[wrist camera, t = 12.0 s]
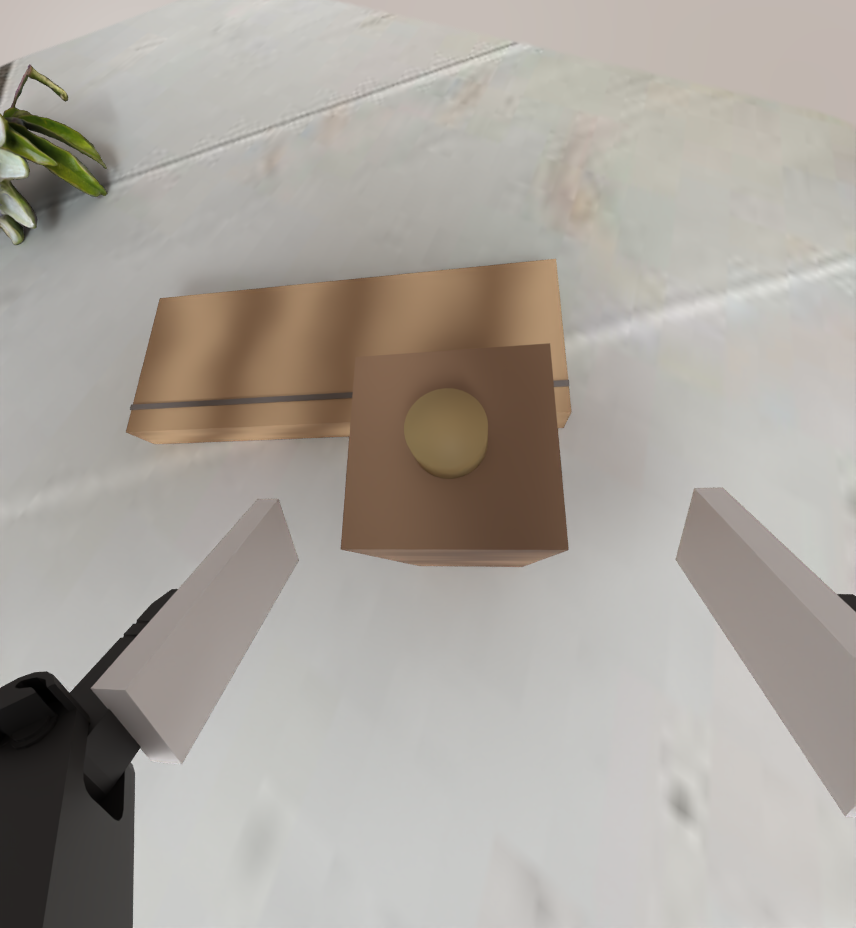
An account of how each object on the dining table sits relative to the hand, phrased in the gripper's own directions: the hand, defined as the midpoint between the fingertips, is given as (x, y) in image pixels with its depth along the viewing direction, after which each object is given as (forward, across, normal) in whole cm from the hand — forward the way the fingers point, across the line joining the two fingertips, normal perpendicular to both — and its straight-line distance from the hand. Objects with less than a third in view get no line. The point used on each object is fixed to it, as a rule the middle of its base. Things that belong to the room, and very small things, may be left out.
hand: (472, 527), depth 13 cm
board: (+12, -7, +3) cm, 14 cm away
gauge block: (+6, 0, -4) cm, 7 cm away
